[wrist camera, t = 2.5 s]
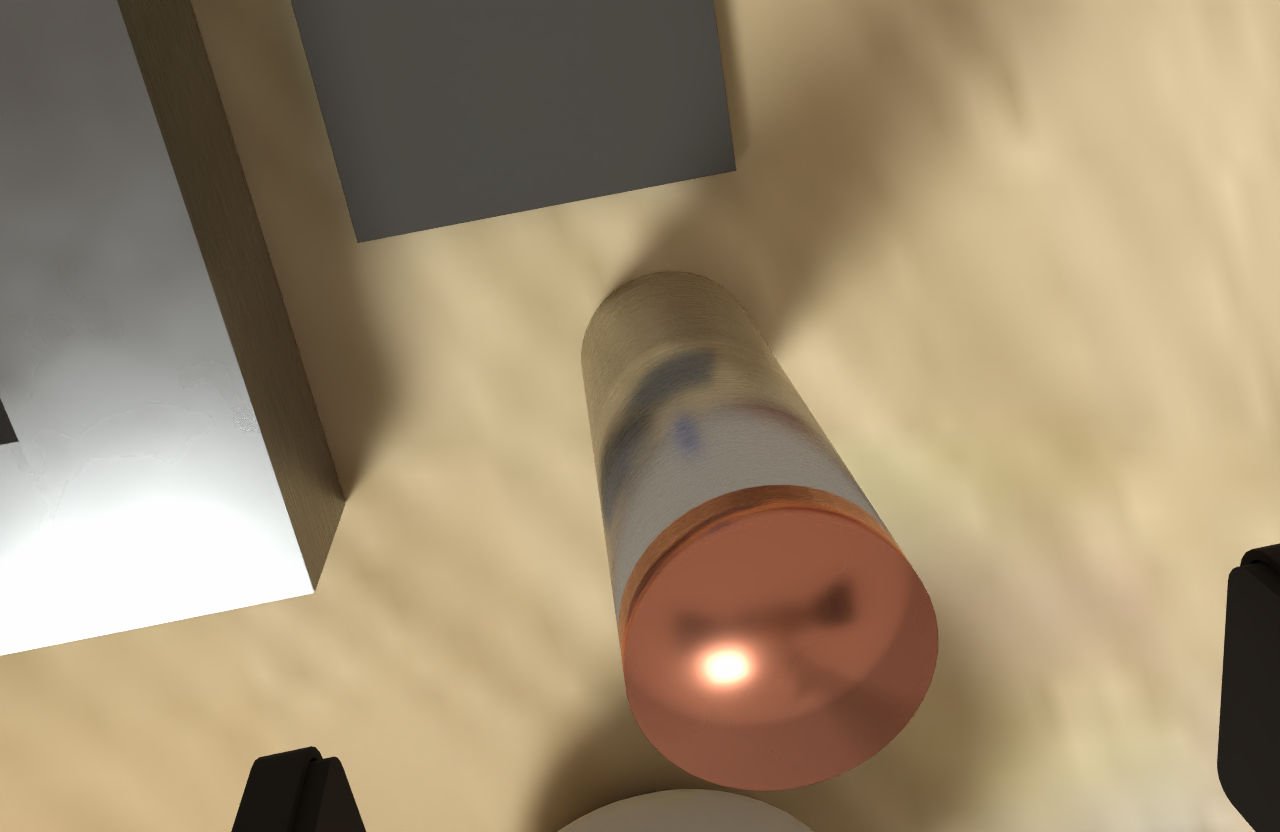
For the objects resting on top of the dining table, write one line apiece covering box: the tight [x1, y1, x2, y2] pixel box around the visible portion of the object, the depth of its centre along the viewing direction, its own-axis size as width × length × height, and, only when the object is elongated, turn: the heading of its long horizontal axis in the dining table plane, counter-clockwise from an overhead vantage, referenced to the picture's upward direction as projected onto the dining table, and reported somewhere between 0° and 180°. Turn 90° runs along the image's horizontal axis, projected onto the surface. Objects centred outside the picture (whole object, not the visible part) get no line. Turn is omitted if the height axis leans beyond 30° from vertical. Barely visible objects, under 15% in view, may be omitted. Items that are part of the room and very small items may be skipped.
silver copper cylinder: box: [581, 272, 938, 791], centre depth 19 cm, size 4×4×12 cm
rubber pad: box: [291, 0, 736, 243], centre depth 21 cm, size 8×8×1 cm
